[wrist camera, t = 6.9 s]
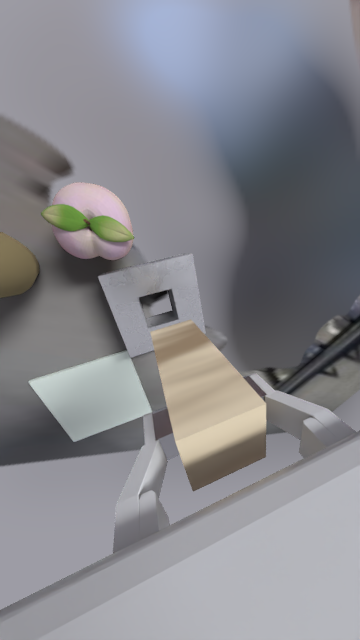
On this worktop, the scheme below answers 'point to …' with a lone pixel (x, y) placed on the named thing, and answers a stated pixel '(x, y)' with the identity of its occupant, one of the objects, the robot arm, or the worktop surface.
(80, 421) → the sage pad
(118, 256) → the decorative fruit
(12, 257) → the squeeze bottle
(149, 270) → the aluminium socket block
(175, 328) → the birch peg
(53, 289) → the worktop surface
